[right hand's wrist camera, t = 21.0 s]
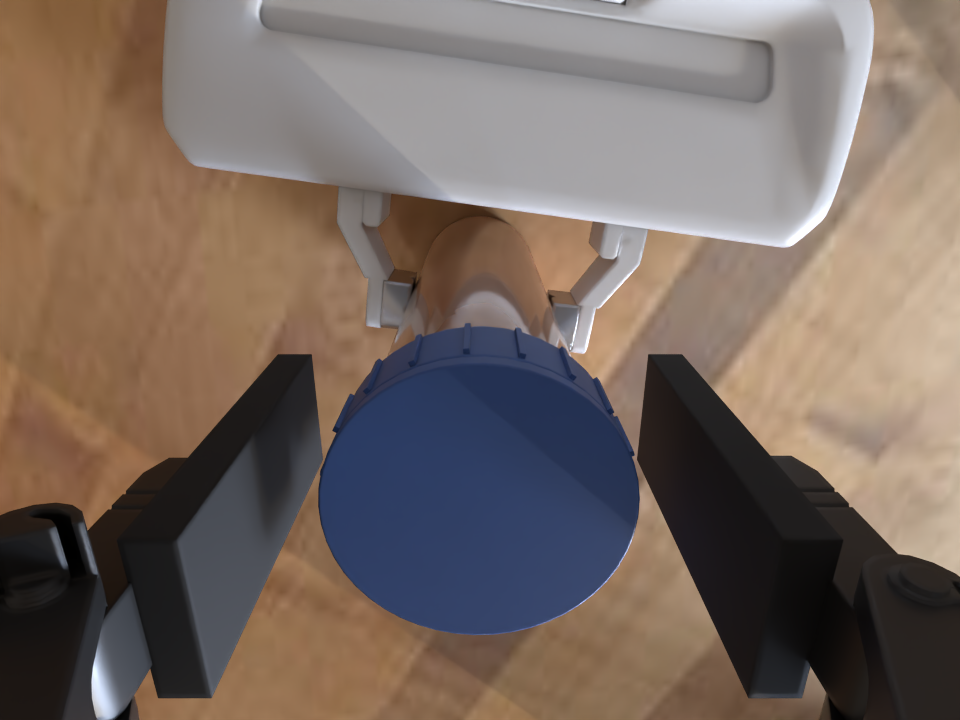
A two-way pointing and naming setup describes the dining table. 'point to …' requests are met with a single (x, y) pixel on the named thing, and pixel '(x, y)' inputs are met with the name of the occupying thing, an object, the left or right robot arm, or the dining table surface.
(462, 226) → the jar
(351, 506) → the lid
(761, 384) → the dining table surface
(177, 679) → the right robot arm
